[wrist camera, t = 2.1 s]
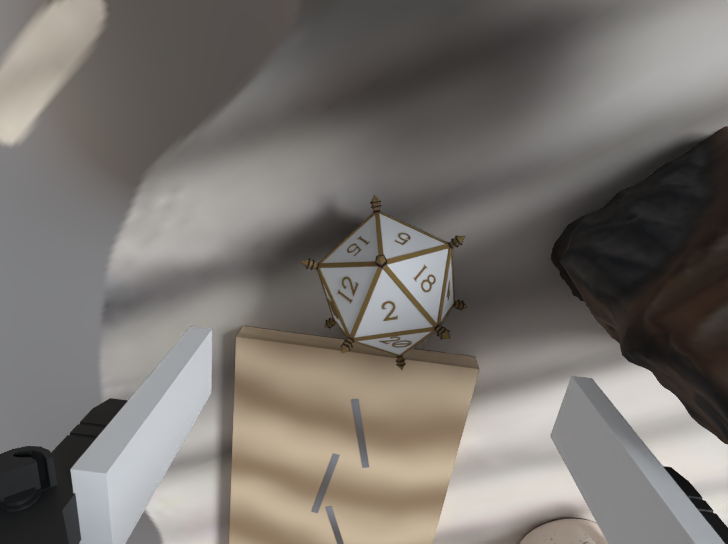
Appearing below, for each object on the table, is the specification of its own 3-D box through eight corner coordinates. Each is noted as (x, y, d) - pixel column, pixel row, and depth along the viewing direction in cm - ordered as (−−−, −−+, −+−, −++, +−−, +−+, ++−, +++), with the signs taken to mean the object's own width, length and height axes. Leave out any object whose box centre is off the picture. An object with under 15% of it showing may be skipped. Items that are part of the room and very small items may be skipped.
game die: (414, 242, 31) (526, 321, 24) (326, 325, 30) (417, 430, 24) (361, 147, 25) (493, 218, 18) (247, 248, 24) (341, 363, 17)
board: (242, 326, 30) (235, 337, 28) (474, 357, 30) (479, 369, 29) (233, 559, 38) (227, 577, 37) (415, 582, 38) (417, 600, 37)
